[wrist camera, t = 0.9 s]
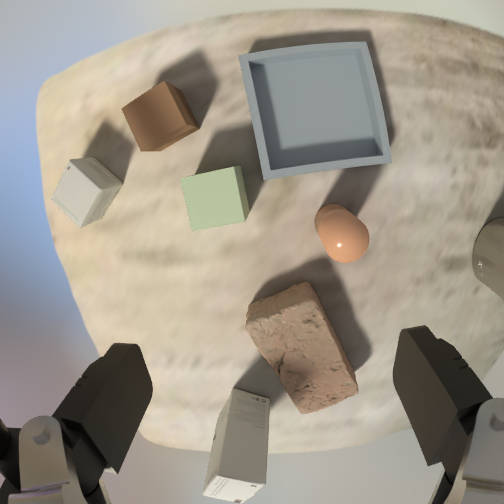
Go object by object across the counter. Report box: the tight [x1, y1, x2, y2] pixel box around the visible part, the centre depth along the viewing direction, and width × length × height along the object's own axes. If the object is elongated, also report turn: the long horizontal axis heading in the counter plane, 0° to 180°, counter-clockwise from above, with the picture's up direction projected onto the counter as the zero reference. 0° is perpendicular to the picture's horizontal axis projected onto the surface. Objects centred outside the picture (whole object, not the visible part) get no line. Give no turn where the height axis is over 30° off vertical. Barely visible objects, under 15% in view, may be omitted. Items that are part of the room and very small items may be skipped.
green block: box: [180, 165, 250, 231], centre depth 29 cm, size 5×5×5 cm
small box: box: [51, 157, 123, 228], centre depth 30 cm, size 6×6×5 cm
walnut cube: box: [122, 81, 200, 151], centre depth 27 cm, size 5×5×5 cm
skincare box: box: [202, 388, 270, 503], centre depth 34 cm, size 8×6×15 cm
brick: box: [246, 282, 358, 414], centre depth 34 cm, size 17×8×5 cm, turn 29°
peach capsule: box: [315, 203, 369, 263], centre depth 28 cm, size 4×4×7 cm
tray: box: [239, 42, 392, 180], centre depth 26 cm, size 13×13×3 cm
